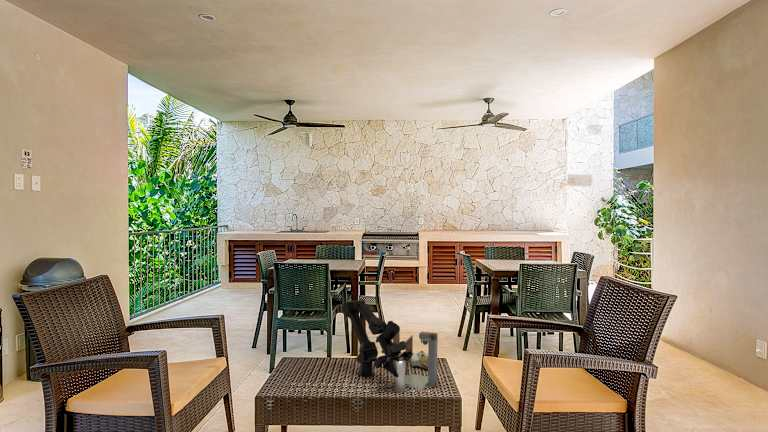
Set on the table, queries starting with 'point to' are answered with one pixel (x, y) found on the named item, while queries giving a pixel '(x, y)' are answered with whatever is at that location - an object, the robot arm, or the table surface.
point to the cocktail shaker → (400, 374)
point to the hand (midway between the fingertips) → (402, 376)
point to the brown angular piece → (408, 343)
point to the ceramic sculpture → (420, 360)
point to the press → (431, 379)
